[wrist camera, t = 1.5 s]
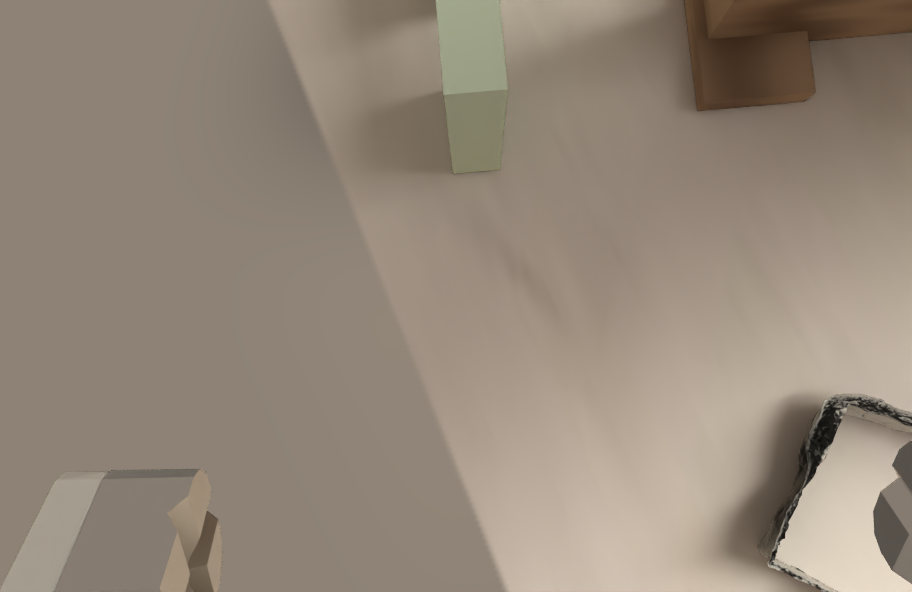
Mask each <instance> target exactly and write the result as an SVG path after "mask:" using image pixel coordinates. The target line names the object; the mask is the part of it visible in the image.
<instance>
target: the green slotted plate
mask: <svg viewBox="0 0 912 592" xmlns="http://www.w3.org/2000/svg"><path fill="white" fill-rule="evenodd" d="M436 11H437V23H438V35H439V47H440V60H441V72H442V84H443V96H444V104H445V112H446V120H447V129H448V137H449V145H450V153H451V162H452V170H453V174H456V173H467V172H478V171H490V170H500V163H501V153H502V143H503V133H504V123H505V113H506V103H507V94H508V85H507V74H506V63H505V52H504V42H503V31H502V20H501V9H500V0H436Z"/></svg>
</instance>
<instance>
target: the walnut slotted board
mask: <svg viewBox="0 0 912 592" xmlns="http://www.w3.org/2000/svg"><path fill="white" fill-rule="evenodd" d="M684 5H685V13H686V21H687V29H688V38H689V46H690V54H691V62H692V71H693V79H694V87H695V95H696V104H697V111H702V110H713V109H724V108H736V107H747V106H758V105H770V104H781V103H792V102H803V101H806V100H807V99H808V98H809V97H810V96H812V95H813V94H814V93H815V92H816V89H815V82H814V75H813V68H812V61H811V54H810V46H809V41H815V40H826V39H837V38H848V37H859V36H871V35H882V34H893V33H904V32H912V0H684Z"/></svg>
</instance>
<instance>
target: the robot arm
mask: <svg viewBox="0 0 912 592" xmlns="http://www.w3.org/2000/svg"><path fill="white" fill-rule="evenodd" d="M892 466H893V467H894V469H895V471H896V473H897V475H898V477H899V478H898V479H896V480H895V481H894V482H893V483H891V484H890V485H889V486H887V487H886V488H885V489H883V490H882V491H881V492H880V495H879V497H878V500H877V503H876V506H875V508H874V511H873V516H874V533H875V537H876V539H877V542H878V545H879V548H880V551H881V553H882V555H883V556H884V558H885V560H886V561H887V563H888V565H889V566H890V568H891V570H892V571H894V572H895V573H897V574H898V575H900V576H901V577H902V578H904V579H905V580H907V581H908V582H910V583H911V584H912V441H910V442H908V443H907V444H906V445H904V446H903V447H902V448H901V449H899V451H898V454H897V456H896V458H895V460H894V462H893V464H892ZM210 497H211V488H210V484H209V481H208V477H207V474H206V471H203V470H201V469H173V470H172V469H164V470H111V471H90V472H89V471H84V472H65V473H64V474H62V475H61V476H60V477H59V478H58V479H57V480H56V481H55V482H54V483H53V485H52V487H51V489H50V490H49V492H48V494H47V497H46V498H45V501H44V502H43V504H42V507H41V508H40V511H39V512H38V514H37V516H36V518H35V520H34V522H33V524H32V526H31V528H30V530H29V532H28V534H27V536H26V538H25V540H24V542H23V544H22V546H21V548H20V550H19V552H18V554H17V556H16V558H15V560H14V562H13V564H12V566H11V568H10V570H9V572H8V574H7V576H6V578H5V580H4V582H3V584H2V586H1V588H0V592H218V591H219V586H220V581H221V571H222V558H223V548H222V535H221V530H220V525H219V521H218V519H217V518H216V517H215V516H213V515H212V514H211V513H210V512H208V511H207V508H208V505H209V501H210Z"/></svg>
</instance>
